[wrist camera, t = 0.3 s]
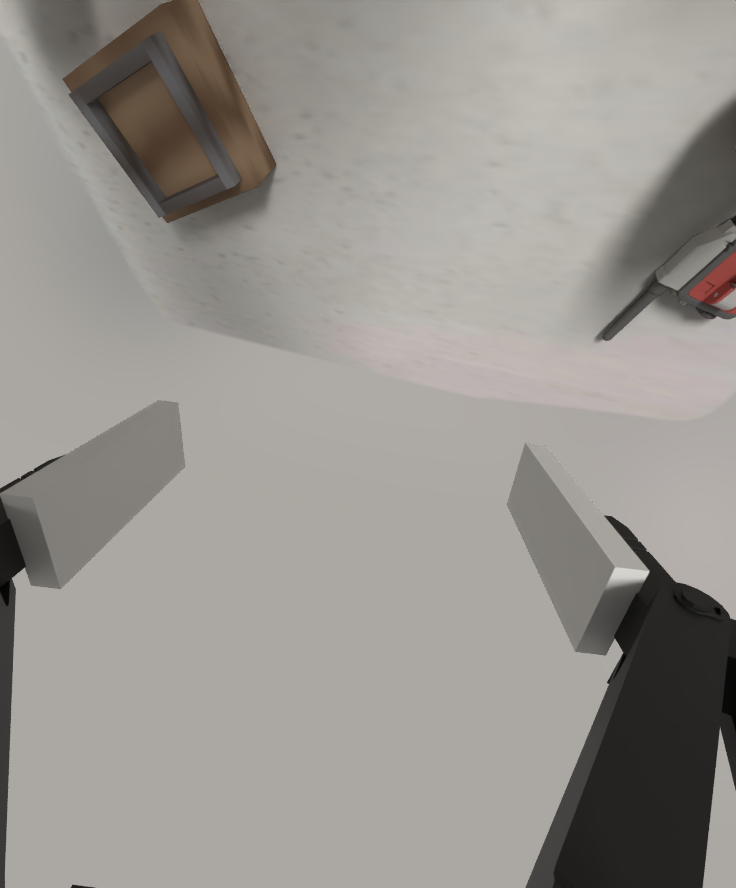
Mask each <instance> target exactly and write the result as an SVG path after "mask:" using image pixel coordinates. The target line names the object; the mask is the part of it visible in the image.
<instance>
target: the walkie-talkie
mask: <svg viewBox="0 0 736 888" xmlns="http://www.w3.org/2000/svg"><path fill="white" fill-rule="evenodd" d="M655 274H656V277H657V281H656V282H655V283H654V284H652V285H651V286H650V290H649V291H647V292H646V293H645V294H644V295H643V296H642V297H641V298H640V299H639V300H638V301H637V302H636V303H635V304H634V305H633V306H632V307H631V308H630V309H629V310H628V311H626V312H625V313H624V314H623V315H622V316H621V317H620V319H619V320H618V321H617V322H616V323H615V324H614V325H613V326H612V327H611V328H610V329H609V330H608V331H607V332H606V333H605V334H604V335H603V339H604V340H606V341H609V340H611V339H612V338H613V337H614V336H615V335H616V334H617V333H618V332H619V331H620V330H622V329H623V328H624V327H625V326H626V325H627V324H628V323H629V322H630V321H631V320H632V319H633V318H635V317H636V316H637V315H638V314H639V313H640V312H641V311H642V310H643V309H644V308H645V307H646V306H648V305H649V304H650V303H651V302H652V301H653V300H654V299H655V298H656V297H657V296H660V295H661V294H662V293H663V292H664V291H666V290H667V289H668V288H669V287H670V288H672V289H671V290H670V293H671V294H672V295H674V296H677V297H678V298H679V300H678V301H679V303H680V304H682V305H684V306H685V305H687V304H690V305H693V306H695V307H696V309H697V311H698V312H699V313H700V314H701V315H702V316H703V317H705V318H707V319H714V318H715V317H716V316H718V317H721V318H723V319H731V318H735V317H736V219H734V220H730V219H729V220H728V221H727V222H726V223H724V224H722V225H720V226H717V227H715V228H712V229H710V230H707V231H705V232H702V233H700V234H697V235H695V236H693V237H692V238H691V239H690V240H689V241H688V242H687V243H686V244H685V245H684V246H683V247H682V248H681V249H680V250H679V251H678V252H677V253H676V254H675V255H674V256H673V257H672V258H671V259H670V260H669V261H668V262H667V263H666V264H664V265H662V266H661V267H660V268H659V269H658V270H657V271H656V272H655Z"/></svg>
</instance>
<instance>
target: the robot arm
mask: <svg viewBox="0 0 736 888" xmlns="http://www.w3.org/2000/svg"><path fill="white" fill-rule="evenodd" d="M178 406H179V405H178V403H177V402H168V401H159V400H158V401H156V402H154V403H153V404H151V405H149V406H148V407H146V408H144V409H143V410H141V411H139V412H138V413H136V414H134V415H132V416H131V417H129V418H127V419H126V420H124V421H122V422H120V423H119V424H117V425H115V426H114V427H112V428H110V429H109V430H107V431H105V432H104V433H102V434H100V435H98V436H97V437H95V438H93V439H92V440H90V441H88V442H87V443H85V444H83V445H81V446H80V447H78V448H76V449H75V450H73V451H71V452H70V453H68V454H66V455H63V456H61V457H57V458H55V459H52V460H49V461H47V462H46V463H44V464H42V465H40V466H38V467H37V468H35V469H34V471H30V472H28V473H26V474H25V475H23V476H21V479H20V478H18V479H16V480H14V481H13V482H11V483H9V484H7V485H6V486H4V487H2V488H0V888H5V852H6V827H7V825H6V824H7V801H8V800H7V798H8V775H9V749H10V748H9V747H10V722H11V697H12V672H13V646H14V621H15V594H16V589H15V586H14V583H13V580H12V577H14V576H15V575H16V574H17V573H18V572H20V571H21V570H22V569H23V568H25V569H26V572H27V575H28V578H29V581H30V583H31V585H32V586H40V587H48V588H57V589H61V588H62V587H63V586H64V585H65V584H66V583H67V582H68V581H69V580H70V579H71V578H72V577H73V576H74V575H75V574H76V573H77V572H78V571H79V570H81V569H82V567H83V566H85V565H86V564H87V563H88V562H89V561H90V560H91V558H93V557H94V556H95V554H97V553H98V552H99V551H100V550H101V549H102V548H103V547H104V546H105V545H106V544H107V543H108V542H109V541H110V540H111V539H112V538H113V537H114V536H115V535H116V534H117V533H118V532H119V531H120V530H121V529H122V528H123V527H124V526H125V525H126V524H127V523H128V522H129V521H130V520H131V519H132V518H133V517H134V516H135V515H136V514H137V513H138V512H140V510H142V508H144V507H145V506H146V505H147V503H148V502H149V501H151V500H152V499H153V498H154V497H155V496H156V495H157V494H158V493H159V492H160V491H161V490H162V489H163V488H164V487H165V486H166V485H167V484H168V483H169V482H170V481H171V480H172V479H173V478H174V477H175V476H176V475H177V474H178V473H179V472H180V471H181V470H182V469H183V468H184V467H185V461H184V452H183V443H182V433H181V425H180V415H179V407H178ZM507 506H508V508H509V510H510V512H511V514H512V516H513V519H514V521H515V523H516V525H517V527H518V530H519V532H520V534H521V536H522V538H523V540H524V542H525V544H526V547H527V549H528V551H529V553H530V555H531V557H532V560H533V562H534V564H535V566H536V568H537V570H538V573H539V575H540V577H541V579H542V581H543V583H544V586H545V588H546V590H547V592H548V594H549V596H550V598H551V600H552V603H553V605H554V607H555V609H556V611H557V614H558V616H559V618H560V620H561V622H562V624H563V626H564V629H565V631H566V633H567V635H568V637H569V639H570V642H571V644H572V646H573V648H574V650H575V652H582V653H590V654H598V655H606V654H607V652H608V650H609V648H610V646H611V644H612V642H613V641H614V639H616V641H617V642H618V644H619V646H620V647H621V649H622V651H623V654H622V656H621V658H620V660H619V662H618V663H617V665H616V667H615V669H614V671H613V673H612V675H611V676H610V678H609V680H608V682H607V683H608V684H609V686H608V688H607V691H606V693H605V696H604V698H603V700H602V703H601V705H600V708H599V710H598V713H597V715H596V717H595V720H594V722H593V725H592V727H591V730H590V732H589V735H588V737H587V739H586V742H585V744H584V747H583V749H582V751H581V754H580V756H579V759H578V761H577V764H576V766H575V768H574V771H573V773H572V776H571V778H570V781H569V783H568V786H567V788H566V791H565V793H564V795H563V798H562V800H561V803H560V805H559V808H558V810H557V812H556V815H555V817H554V820H553V822H552V825H551V827H550V830H549V832H548V834H547V837H546V839H545V842H544V844H543V846H542V849H541V851H540V854H539V856H538V859H537V861H536V863H535V866H534V868H533V871H532V873H531V876H530V878H529V880H528V883H527V885H526V888H702V887H703V878H704V869H705V860H706V850H707V841H708V831H709V823H710V813H711V804H712V795H713V786H714V777H715V768H716V758H717V749H718V740H719V730H720V728H721V732H722V736H723V740H724V744H725V748H726V752H727V756H728V761H729V765H730V768H731V772H732V777H733V781H734V785H735V789H736V620H733V619H730V616H729V614H728V612H727V611H726V610H725V609H724V608H723V606H722V605H720V604H719V603H718V602H717V601H716V600H714V599H713V598H712V597H710V596H709V595H707V594H705V593H703V592H702V591H700V590H698V589H696V588H694V587H691V586H688V585H686V584H682V583H677V582H675V581H674V580H673V579H672V578H671V577H670V575H669V574H668V573H667V572H666V571H665V570H664V568H663V567H662V566H661V565H660V564H659V563H658V562H657V561H656V559H655V558H654V557H653V556H652V555H651V554H650V553H649V552H647V551H646V548H645V547H644V546H643V545H642V543H641V542H638V539H637V538H636V537H635V536H634V534H633V533H632V532H631V531H630V530H629V529H628V528H627V527H626V526H625V525H623V524H622V523H620V522H619V521H618V520H616V519H615V518H613V517H612V516H605V515H603V514H602V513H601V512H600V510H599V509H598V508H597V507H596V506H595V504H594V503H593V502H592V501H591V500H590V498H589V497H588V496H587V495H586V493H585V492H584V491H583V490H582V489H581V487H580V486H579V485H578V484H577V483H576V482H575V480H574V479H573V478H572V477H571V475H570V474H569V473H568V472H567V470H566V469H565V468H564V467H563V466H562V464H561V463H560V462H559V461H558V460H557V458H556V457H555V456H554V455H553V454H552V452H551V451H550V450H549V449H548V448H547V446H546V445H539V444H531V443H525V445H524V448H523V452H522V455H521V459H520V462H519V465H518V469H517V472H516V475H515V479H514V482H513V486H512V489H511V492H510V496H509V499H508V502H507ZM71 888H93V887H85V886H78V885H72V887H71Z"/></svg>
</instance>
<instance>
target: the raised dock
mask: <svg viewBox="0 0 736 888" xmlns="http://www.w3.org/2000/svg"><path fill="white" fill-rule="evenodd" d="M63 81H64V82H65V83H66V85H67V86H68V88H69V89H70V90H71V93H70V94H69V96H70V97H71V99H72V100H73V101H74V103H75V104H76V105H77V107H78V108H79V109H80V111H81V112H82V114H83V115H84V116H85V118H86V119H87V120H88V122H89V123H90V124H91V126H92V127H93V128H94V130H95V131H96V133H97V134H98V135H99V137H100V138H101V139H102V141H103V142H104V143H105V145H106V146H107V148H108V149H109V150H110V152H111V153H112V154H113V156H114V157H115V158H116V160H117V161H118V163H119V164H120V165H121V167H122V168H123V169H124V171H125V172H126V173H127V175H128V176H129V177H130V179H131V180H132V182H133V183H134V184H135V186H136V187H137V188H138V190H139V191H140V192H141V194H142V195H143V197H144V198H145V199H146V201H147V202H148V203H149V205H150V206H151V207H152V209H153V210H154V211H155V213H156V214H157V216H158V217H159V218H160V217H163V218H164V219H165V221H166V222H167V223H169V222H171V221H174V220H176V219H179V218H181V217H184V216H186V215H189V214H191V213H193V212H196V211H198V210H201V209H203V208H206V207H208V206H211V205H213V204H216V203H218V202H221V201H223V200H226V199H228V198H231V197H233V196H235V195H238V194H240V193H243V192H245V191H248V190H250V189H253V188H255V187H257V186H258V185H259V184H260V183H261V182H262V180H263V179H264V178H265V177H266V176H267V175H268V174H269V172H270V171H271V170H272V169H273V168H274V167H275V166H276V163H275V161H274V159H273V156H272V154H271V152H270V150H269V148H268V146H267V144H266V142H265V140H264V138H263V136H262V134H261V131H260V129H259V127H258V125H257V123H256V121H255V119H254V117H253V115H252V113H251V111H250V109H249V106H248V104H247V102H246V100H245V98H244V96H243V94H242V92H241V90H240V88H239V86H238V84H237V81H236V79H235V77H234V75H233V73H232V71H231V69H230V67H229V65H228V63H227V61H226V59H225V56H224V54H223V52H222V50H221V48H220V46H219V44H218V42H217V40H216V38H215V36H214V33H213V31H212V29H211V27H210V25H209V23H208V21H207V19H206V17H205V15H204V13H203V11H202V8H201V6H200V4H199V2H198V0H173V1H170V2H167V3H165V4H162V5H160V6H158V7H157V8H156V9H154V10H153V11H152V12H150V13H149V14H148V15H146V16H145V17H144V18H143V19H141V20H140V21H139V22H137V23H136V24H135V25H133V26H132V27H131V28H129V29H128V30H127V31H125V32H124V33H123V34H121V35H120V36H119V37H117V38H116V39H115V40H113V41H112V42H111V43H109V44H108V45H107V46H106V47H104V48H103V49H102V50H100V51H99V52H98V53H96V54H95V55H94V56H92V57H91V58H90V59H88V60H87V61H86V62H84V63H83V64H82V65H80V66H79V67H78V68H76V69H75V70H74V71H72V72H71V73H70V74H69V75H67V76H66V77H65V78H63Z"/></svg>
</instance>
